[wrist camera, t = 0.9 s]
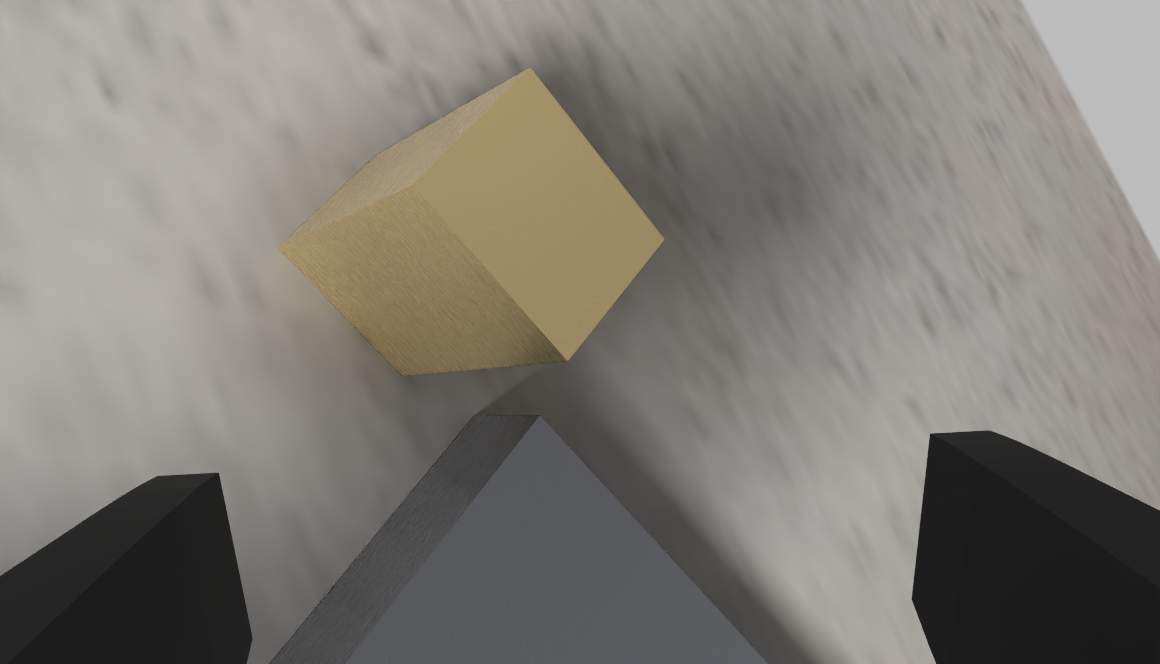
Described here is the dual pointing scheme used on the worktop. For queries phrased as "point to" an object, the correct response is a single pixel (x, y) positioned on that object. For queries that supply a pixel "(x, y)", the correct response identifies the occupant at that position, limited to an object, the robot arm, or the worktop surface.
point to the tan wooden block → (479, 238)
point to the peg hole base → (514, 571)
